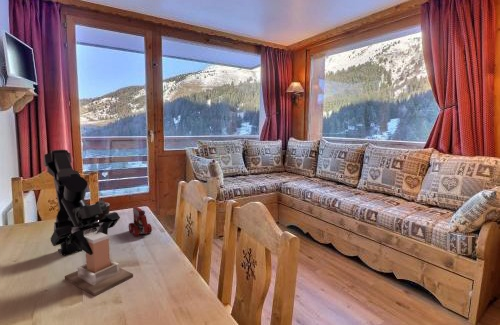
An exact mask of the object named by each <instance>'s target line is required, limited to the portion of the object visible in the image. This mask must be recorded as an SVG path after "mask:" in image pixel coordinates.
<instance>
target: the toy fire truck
mask: <svg viewBox="0 0 500 325" xmlns="http://www.w3.org/2000/svg"><path fill="white" fill-rule="evenodd" d="M132 214H133V222H130V223H128V226H127V227H128V232H130V233H132V235H133V236H134V237H139V235H140V234H144V235H145V234H151V233H152V230H153V229H152V228H153V227H152V225H151V223H148V221H147V220H148V219H147V215H146V211H145V210H143V209H141V208H140V207H138V206H137V205H136V206H133V208H132Z"/></svg>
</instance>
